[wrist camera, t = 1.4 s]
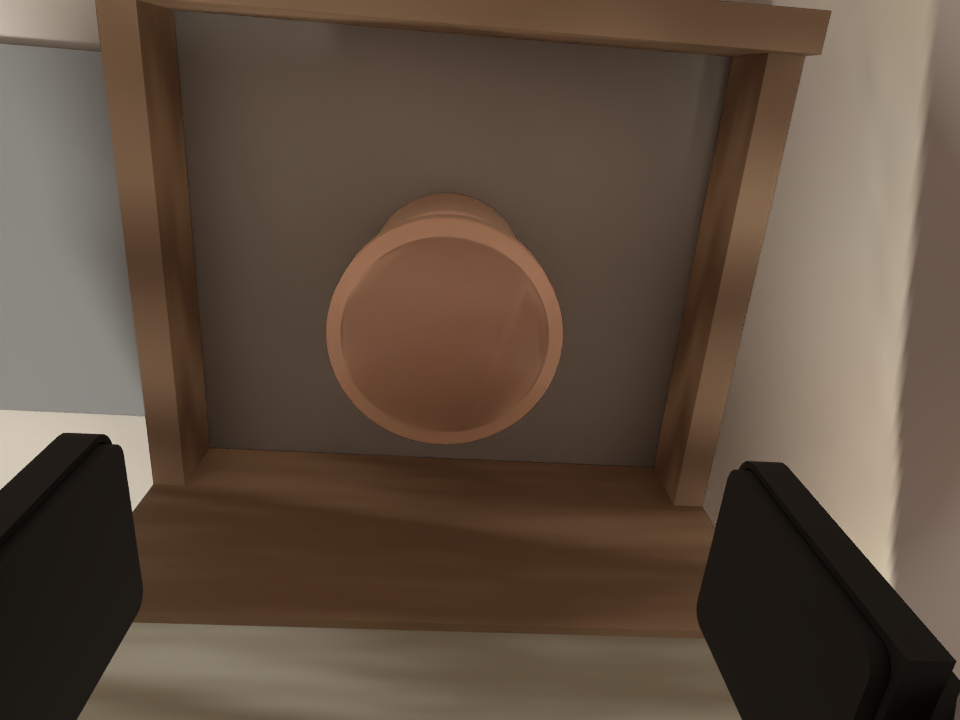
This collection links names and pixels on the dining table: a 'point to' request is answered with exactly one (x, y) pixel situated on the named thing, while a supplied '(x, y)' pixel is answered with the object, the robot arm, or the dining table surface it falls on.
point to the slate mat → (62, 241)
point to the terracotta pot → (444, 324)
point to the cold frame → (431, 481)
